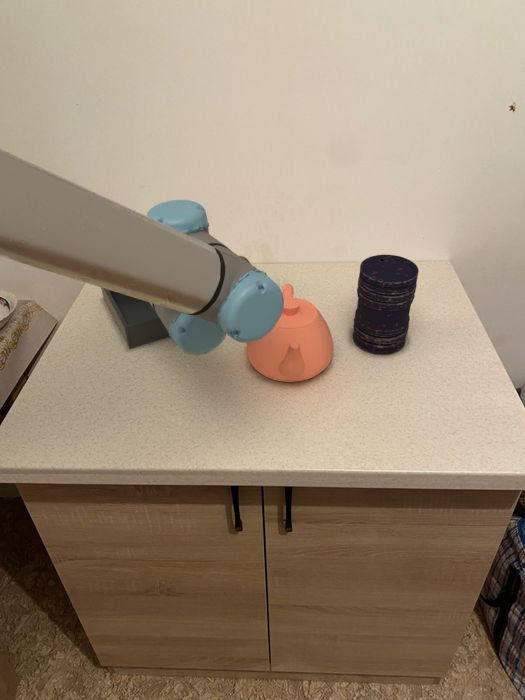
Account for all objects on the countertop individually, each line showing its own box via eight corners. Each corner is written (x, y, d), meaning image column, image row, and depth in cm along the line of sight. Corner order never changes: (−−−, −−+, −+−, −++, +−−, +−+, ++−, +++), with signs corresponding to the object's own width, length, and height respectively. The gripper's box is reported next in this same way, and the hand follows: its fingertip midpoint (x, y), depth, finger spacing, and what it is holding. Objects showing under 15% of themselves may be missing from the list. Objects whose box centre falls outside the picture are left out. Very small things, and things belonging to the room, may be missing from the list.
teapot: (340, 406, 80) (346, 345, 73) (246, 408, 80) (242, 348, 73) (325, 325, 97) (329, 269, 90) (247, 328, 98) (244, 272, 90)
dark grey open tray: (129, 348, 93) (124, 327, 90) (104, 299, 107) (98, 279, 104) (197, 327, 98) (195, 307, 95) (164, 282, 112) (161, 263, 109)
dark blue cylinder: (415, 350, 91) (430, 278, 81) (364, 359, 89) (373, 287, 80) (391, 320, 98) (403, 251, 89) (344, 327, 97) (350, 258, 88)
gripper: (121, 318, 76) (88, 255, 93) (216, 291, 82) (168, 236, 98) (110, 275, 72) (77, 217, 88) (212, 249, 77) (163, 199, 94)
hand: (125, 227), depth 93 cm, fingers open, 3 cm apart
